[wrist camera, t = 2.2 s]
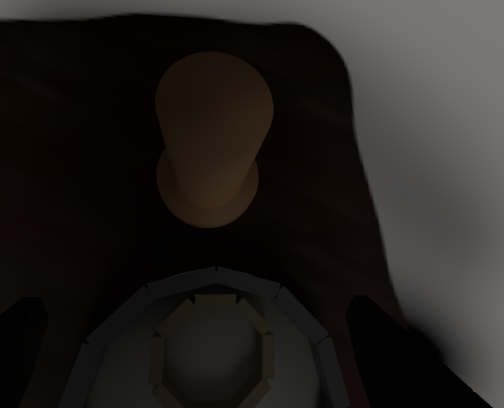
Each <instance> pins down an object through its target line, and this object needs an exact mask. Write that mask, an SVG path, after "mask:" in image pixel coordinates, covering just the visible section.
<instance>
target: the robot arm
mask: <svg viewBox="0 0 504 408" xmlns="http://www.w3.org/2000/svg"><path fill="white" fill-rule="evenodd" d="M346 321H347V325H348V330H349V334H350V338H351V343H352V347H353V351H354V355H355V360H356V364H357V367H358V371H359V374H360V377H361V380H362V383H363V385H364V388H365V391H366V394H367V397H368V400H369V403H370V406H371V408H493V407H491V406H490V405H489V404H488V403H487V402H486V401H484V399H482V398H481V397H480V396H479V395H478V394H477V393H476V392H473V390H472V389H471V388H470V387H469V386H468V385H467V384H465V383H464V382H463V381H462V380H461V379H460V378H459V377H458V376H457V375H455V374H454V373H453V372H452V371H451V370H450V369H449V368H448V367H446V366H445V365H444V364H443V363H442V362H441V361H440V360H439V359H437V358H436V357H435V356H434V355H433V354H432V353H431V352H430V351H428V350H427V349H426V348H425V347H424V346H423V345H422V344H421V343H419V342H418V341H417V340H416V339H415V338H414V337H413V336H412V335H411V334H409V333H408V332H407V331H406V330H405V329H404V328H403V327H402V326H401V325H399V324H398V323H397V322H396V321H395V320H394V319H393V318H392V317H390V316H389V315H388V314H387V313H386V312H385V311H384V310H383V309H381V308H380V307H379V306H378V305H377V304H376V303H375V302H374V301H372V300H371V299H370V298H369V297H367V296H354V297H353V298H352V300H351V302H350V305H349V307H348V309H347V312H346ZM47 325H48V315H47V312H46V309H45V306H44V303H43V301H42V299H41V298H40V297H25V298H22V299H20V300H19V301H18V302H16V303H15V304H14V305H12V306H11V307H10V308H9V309H7V310H6V311H5V312H3V313H2V314H1V315H0V408H19V405H20V403H21V401H22V398H23V396H24V394H25V391H26V389H27V387H28V384H29V382H30V379H31V376H32V373H33V370H34V366H35V363H36V360H37V357H38V354H39V351H40V347H41V344H42V341H43V338H44V335H45V332H46V328H47Z"/></svg>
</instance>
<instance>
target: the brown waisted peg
mask: <svg viewBox="0 0 504 408" xmlns="http://www.w3.org/2000/svg"><path fill="white" fill-rule="evenodd" d="M155 106H156V113H157V116H158V120H159V124H160V128H161V131H162V135H163V139H164V142H165V146H166V148H165V149H164V151H163V152H162V154H161V156H160V159H159V162H158V165H157V176H156V178H157V185H158V189H159V192H160V194H161V196H162V198H163V200H164V202H165V204H166V206H167V207H168V209H169V210H170V211H171V212H172V213H173V214H174V215H175V216H176V217H177V218H178V219H180V220H181V221H183V222H185V223H187V224H189V225H192V226H195V227H199V228H216V227H220V226H224V225H226V224H229V223H231V222H232V221H234V220H236V219H237V218H238V217H239V216H240V215H241V214H242V213H243V212H244V211H245V210H246V209H247V207H248V206H249V205H250V203H251V202H252V200H253V198H254V196H255V193H256V191H257V187H258V178H259V176H258V168H257V164H256V161H255V156H256V154H257V152H258V150H259V148H260V146H261V144H262V142H263V140H264V138H265V136H266V134H267V132H268V130H269V128H270V125H271V122H272V118H273V100H272V96H271V93H270V90H269V88H268V86H267V84H266V82H265V80H264V79H263V77H262V76H261V75H260V74H259V73H258V72H257V71H256V70H255V69H254V68H253V67H252V66H251V65H249V64H248V63H247V62H245V61H243V60H241V59H240V58H237V57H235V56H233V55H229V54H226V53H220V52H200V53H195V54H192V55H189V56H186V57H184V58H182V59H180V60H179V61H177V62H176V63H174V64H173V65H172V66H171V67H170V68H169V69H168V70H167V71H166V72H165V74H164V75H163V77H162V78H161V80H160V82H159V85H158V88H157V91H156V98H155Z"/></svg>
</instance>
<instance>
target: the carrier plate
mask: <svg viewBox="0 0 504 408" xmlns="http://www.w3.org/2000/svg"><path fill="white" fill-rule="evenodd" d="M328 334H329V333H328V332H327V331H326V329H325V328H324V327H323V326H322V325H321V324H320V323H319V322H318V321H317V320H316V319H315V318H314V317H313V316H312V315H311V314H310V313H309V312H308V311H307V310H306V308H305V307H304V306H303V305H302V304H301V303H300V302H299V301H298V300H297V299H296V298H295V297H294V296H293V295H292V294H291V293H290V292H289V291H288V290H287V289H286V287H285V286H283V285H280V283H276V282H273V281H269V280H266V279H262V278H259V277H256V276H253V275H250V274H248V273H243V272H239V271H234V270H231V269H227V268H224V267H220V266H217V268H216V269H215V266H213V267H209V268H205V269H200V270H194V271H189V272H184V273H180V274H177V275H174V276H171V277H168V278H165V279H162V280H158V281H155V282H151V283H147V285H143V286H142V287H141V288H140V289H139V290H138V291H137V292H136V293H135V294H134V295H132V296H131V297H130V298H129V299H128V300H127V301H126V302H125V303H124V304H123V305H122V306H121V307H119V308H118V309H117V310H116V311H115V312H114V313H113V314H112V315H111V316H110V317H109V318H107V319H106V320H105V321H104V322H103V323H102V324H101V325H100V326H99V327H98V328H97V329H95V330H94V331H93V332H92V333H91V334H90V335H89V336H88V337H87V338H86V341H85V342H83V343H82V346H81V348H80V351H79V354H78V356H77V359H76V362H75V364H74V367H73V370H72V372H71V375H70V377H69V380H68V383H67V385H66V388H65V391H64V393H63V396H62V399H61V401H60V404H59V407H58V408H348V406H350V403H349V399H348V396H347V392H346V388H345V385H344V381H343V378H342V374H341V371H340V367H339V363H338V360H337V356H336V353H335V349H334V346H333V342H332V339H331V336H329V335H328Z"/></svg>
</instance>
